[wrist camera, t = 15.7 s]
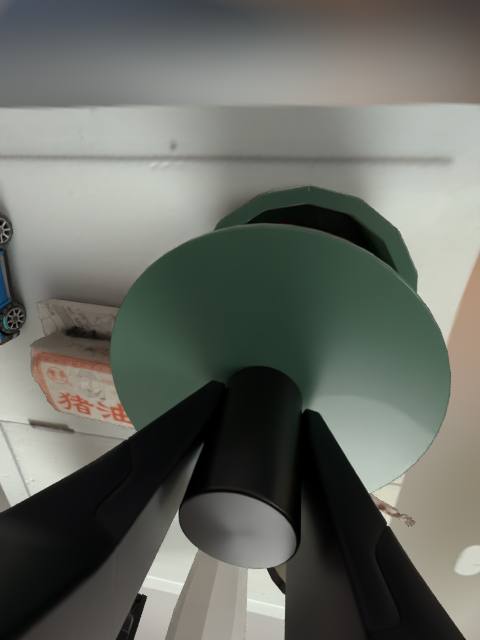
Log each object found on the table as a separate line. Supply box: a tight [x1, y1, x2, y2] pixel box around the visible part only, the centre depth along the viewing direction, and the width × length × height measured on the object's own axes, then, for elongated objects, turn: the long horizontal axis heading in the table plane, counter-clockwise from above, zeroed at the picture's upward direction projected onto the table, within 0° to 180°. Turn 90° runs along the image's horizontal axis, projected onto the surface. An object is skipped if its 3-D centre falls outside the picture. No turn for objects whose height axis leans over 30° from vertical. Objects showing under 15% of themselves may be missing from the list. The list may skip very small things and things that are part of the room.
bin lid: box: [110, 223, 451, 569], centre depth 8 cm, size 10×10×5 cm
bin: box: [213, 184, 418, 293], centre depth 16 cm, size 9×9×8 cm
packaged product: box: [30, 299, 135, 429], centre depth 23 cm, size 18×5×10 cm
